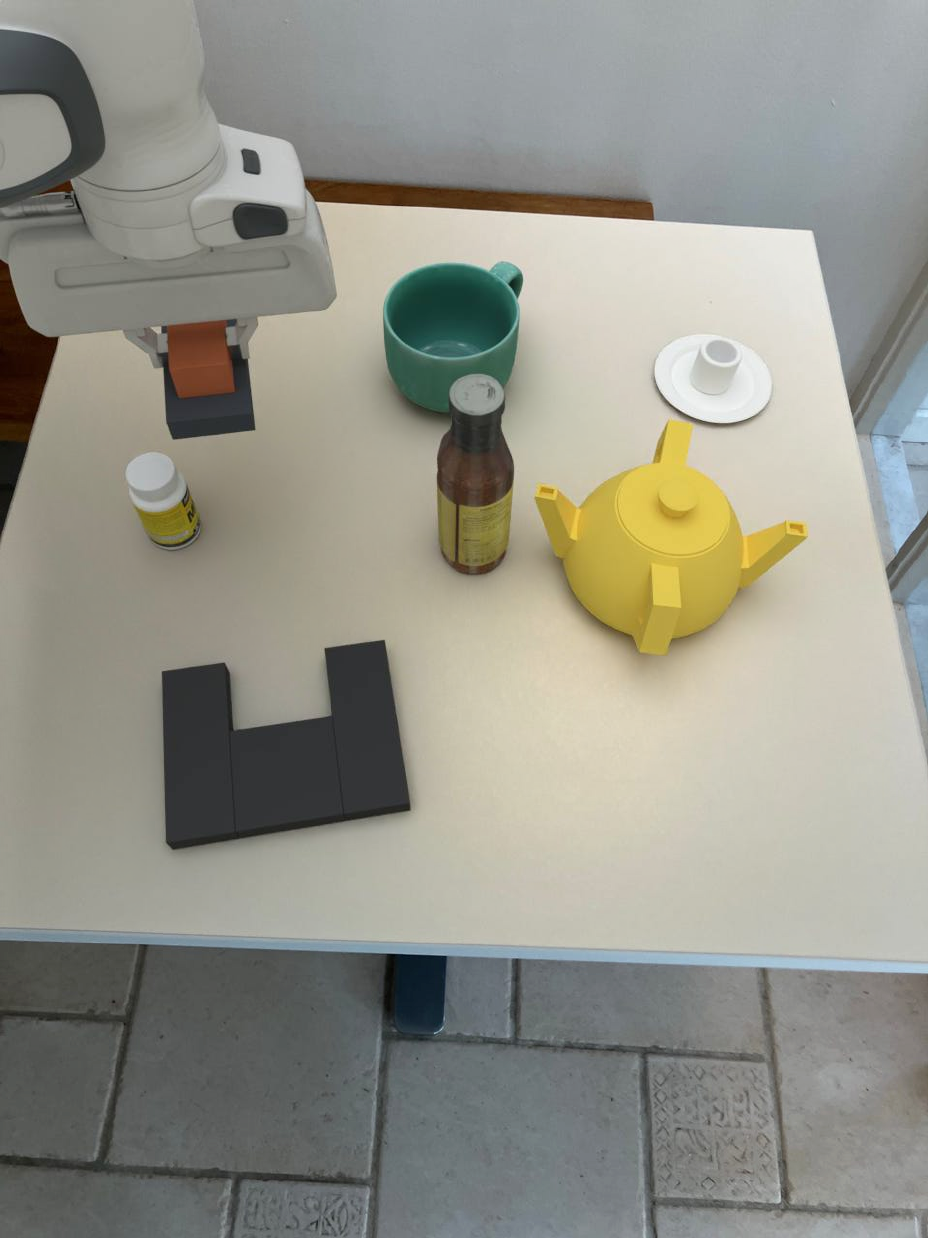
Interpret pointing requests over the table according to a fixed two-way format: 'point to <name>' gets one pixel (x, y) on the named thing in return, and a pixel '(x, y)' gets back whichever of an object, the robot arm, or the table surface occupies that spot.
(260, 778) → the base pad
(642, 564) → the teapot
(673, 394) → the candle holder
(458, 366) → the mug
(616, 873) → the table surface
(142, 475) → the supplement bottle
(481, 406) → the sauce bottle
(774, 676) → the table surface
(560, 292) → the table surface
